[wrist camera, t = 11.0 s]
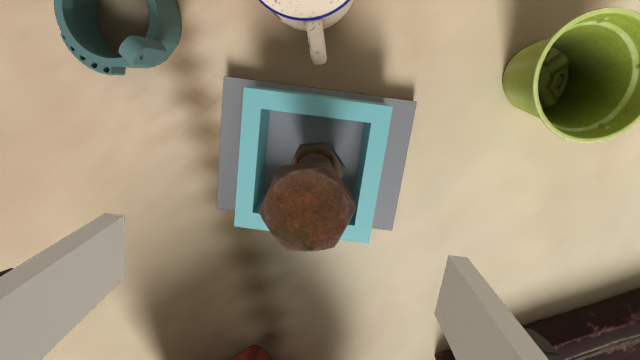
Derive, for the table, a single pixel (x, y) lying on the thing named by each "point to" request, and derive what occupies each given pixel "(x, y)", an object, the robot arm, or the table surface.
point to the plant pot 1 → (252, 354)
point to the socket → (312, 127)
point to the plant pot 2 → (582, 76)
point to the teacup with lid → (310, 19)
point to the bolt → (309, 200)
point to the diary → (592, 331)
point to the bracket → (138, 52)
